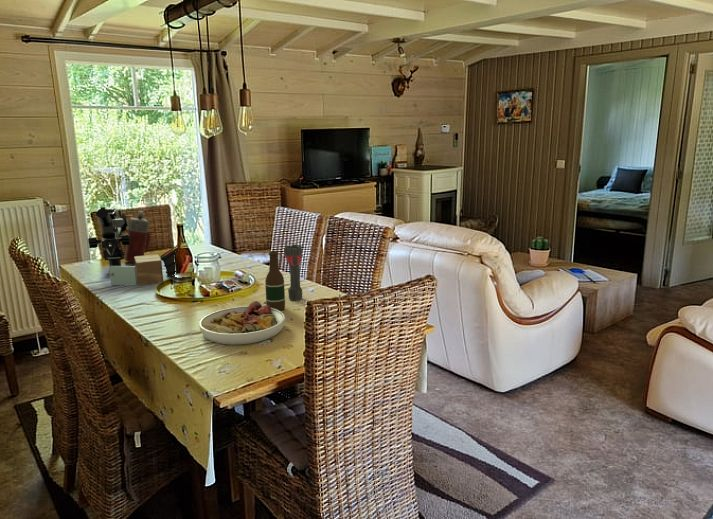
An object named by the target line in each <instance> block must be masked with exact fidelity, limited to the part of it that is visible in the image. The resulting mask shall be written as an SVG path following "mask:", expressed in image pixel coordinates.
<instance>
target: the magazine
mask: <svg viewBox="0 0 713 519" xmlns="http://www.w3.org/2000/svg"><path fill="white" fill-rule="evenodd" d="M177 245H178V244H177ZM177 245H175V246H174V247H172V248H170V249H169V250H167V251H166V252H165V253H163V254H161V255H159V257H160V259H161V262H163V267H165V270H166V271H165V274H166V276H167V277H169V278H171V277H173V276H172V275H174V274H175V272H176V271H175V262H174V255H175V251H176V247H177Z"/></svg>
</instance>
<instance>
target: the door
mask: <svg viewBox="0 0 713 519" xmlns="http://www.w3.org/2000/svg"><path fill="white" fill-rule="evenodd" d="M108 272H110V273H109V281H110V285H115V286H116V285H123V286H124V285H128V286H129V285H131V286H139V284H138V275H137V266H135V265H133V266H132V265H121V266H109V265H108Z"/></svg>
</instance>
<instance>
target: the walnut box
mask: <svg viewBox="0 0 713 519" xmlns="http://www.w3.org/2000/svg"><path fill="white" fill-rule="evenodd" d="M160 258H161V257H160V255H159V254H148V255H147V254H144V256H135V257H134V260H135V262H134V266H137V275H138V286H147V285H153V284H154V283H155V284H160V283H159V282H163V283H164V273H163V265H162V264H163V263H162V262H163V261H162V260H161V259H160Z"/></svg>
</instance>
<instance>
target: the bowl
mask: <svg viewBox="0 0 713 519" xmlns="http://www.w3.org/2000/svg"><path fill="white" fill-rule="evenodd" d="M285 322H286V315H285V314H284V313H283V311H279V310H276V309H273V308H271V307H270V306H268V305H266V304H265V305H262V303H260V301H257V300H255V301H252V302H251V303H250V304H249V305H245V306H244V305H243V306H235V307H228V308H223V309H219V310H217V311H213V312H211V313H209V314H207V315H205V316H203V317H202V318H201V319H200V320H199V324H198V328H199V330H200V333H201V334H202V335H203V337H204V338H205V339H207V340H209V341H210V342H214V343H217V344H221V345H230V346H231V345H233V346H235V345H249V344H250V345H251V344H255V343H259V342H262V341H266V340H269V339H271V338H273V337H274V336H276V335H278V334H279V333H280V332H281V331H282V329H284V327H285Z"/></svg>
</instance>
